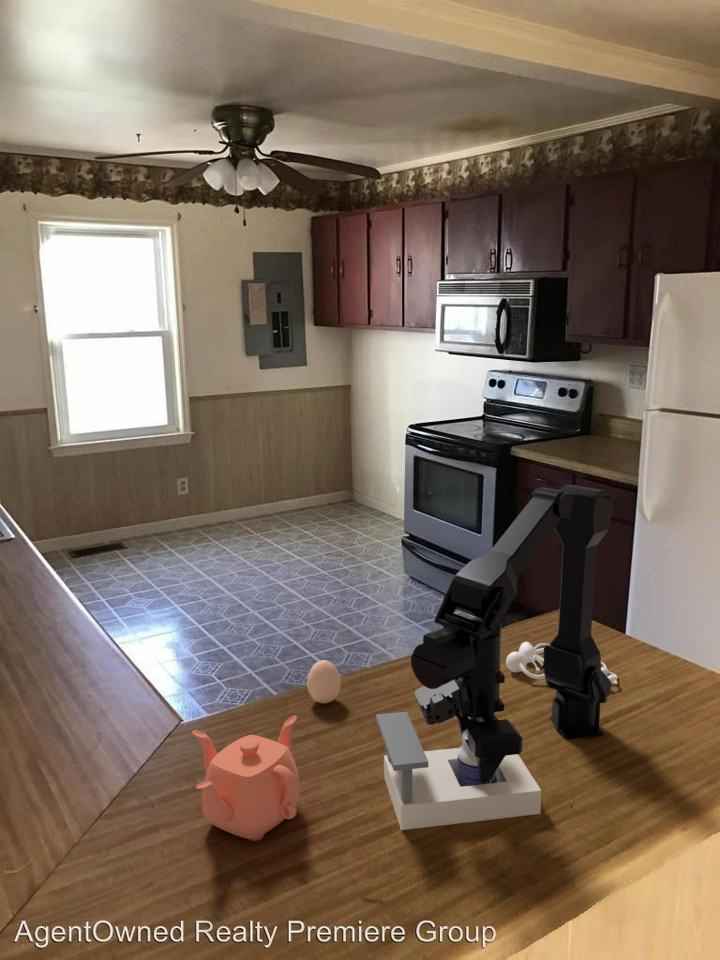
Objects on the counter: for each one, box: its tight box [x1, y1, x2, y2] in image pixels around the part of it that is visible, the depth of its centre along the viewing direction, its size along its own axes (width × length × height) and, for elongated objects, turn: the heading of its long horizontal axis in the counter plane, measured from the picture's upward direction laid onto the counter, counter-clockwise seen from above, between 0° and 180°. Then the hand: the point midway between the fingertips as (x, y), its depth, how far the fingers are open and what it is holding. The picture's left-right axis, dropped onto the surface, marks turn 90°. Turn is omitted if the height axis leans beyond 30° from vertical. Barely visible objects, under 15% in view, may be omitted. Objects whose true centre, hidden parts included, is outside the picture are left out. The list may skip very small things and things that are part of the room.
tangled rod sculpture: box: [505, 641, 619, 685], centre depth 145 cm, size 19×14×4 cm
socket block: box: [375, 711, 542, 831], centre depth 109 cm, size 20×13×10 cm, turn 99°
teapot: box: [192, 715, 301, 842], centre depth 104 cm, size 14×14×11 cm
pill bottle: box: [457, 729, 495, 787], centre depth 109 cm, size 5×5×9 cm
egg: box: [306, 659, 342, 704], centre depth 136 cm, size 6×6×8 cm
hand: (476, 767), depth 109 cm, fingers open, 7 cm apart
